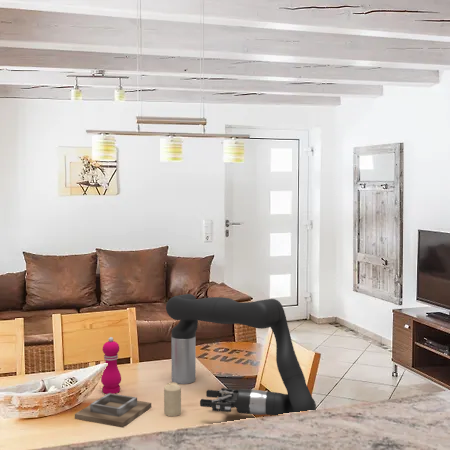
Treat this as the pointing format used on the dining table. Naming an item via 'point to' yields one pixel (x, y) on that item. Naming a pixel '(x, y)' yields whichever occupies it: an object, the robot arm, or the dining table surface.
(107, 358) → the pepper mill
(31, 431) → the dining table surface
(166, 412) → the candle
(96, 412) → the board
